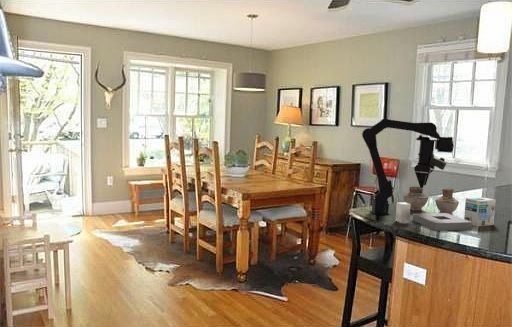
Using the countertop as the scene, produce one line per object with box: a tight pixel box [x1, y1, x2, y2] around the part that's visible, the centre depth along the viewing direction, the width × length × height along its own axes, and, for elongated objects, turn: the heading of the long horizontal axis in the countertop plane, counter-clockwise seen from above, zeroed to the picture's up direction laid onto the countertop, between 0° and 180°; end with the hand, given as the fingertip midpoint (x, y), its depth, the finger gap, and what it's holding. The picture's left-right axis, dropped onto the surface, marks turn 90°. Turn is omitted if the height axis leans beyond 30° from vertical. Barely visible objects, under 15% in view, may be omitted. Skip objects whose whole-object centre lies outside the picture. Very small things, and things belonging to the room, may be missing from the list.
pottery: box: [402, 185, 460, 215], centre depth 200 cm, size 11×25×12 cm, turn 49°
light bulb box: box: [463, 196, 497, 227], centre depth 179 cm, size 11×7×11 cm, turn 116°
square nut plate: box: [412, 212, 473, 231], centre depth 175 cm, size 16×16×3 cm
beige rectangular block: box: [395, 201, 411, 224], centre depth 178 cm, size 4×4×8 cm
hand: (423, 186), depth 189 cm, fingers open, 9 cm apart
